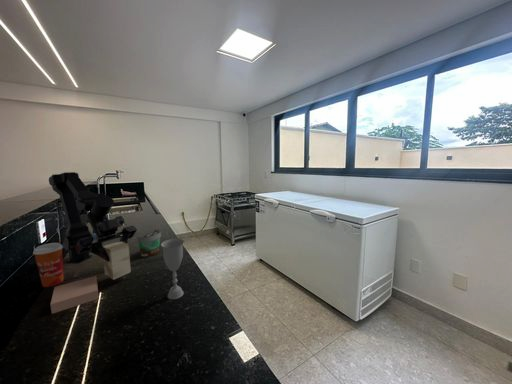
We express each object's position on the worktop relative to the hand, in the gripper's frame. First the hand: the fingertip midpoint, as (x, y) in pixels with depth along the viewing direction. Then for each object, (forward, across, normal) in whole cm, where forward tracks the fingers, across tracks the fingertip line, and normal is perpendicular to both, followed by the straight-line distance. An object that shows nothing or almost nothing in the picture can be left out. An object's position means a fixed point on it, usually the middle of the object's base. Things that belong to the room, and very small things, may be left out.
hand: (118, 257), depth 77 cm
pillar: (+4, 0, +6) cm, 7 cm away
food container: (-1, +21, +15) cm, 25 cm away
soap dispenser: (-32, +19, +46) cm, 59 cm away
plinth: (+5, -12, +8) cm, 16 cm away
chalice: (+24, +5, -10) cm, 26 cm away
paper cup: (-7, -13, +21) cm, 26 cm away
